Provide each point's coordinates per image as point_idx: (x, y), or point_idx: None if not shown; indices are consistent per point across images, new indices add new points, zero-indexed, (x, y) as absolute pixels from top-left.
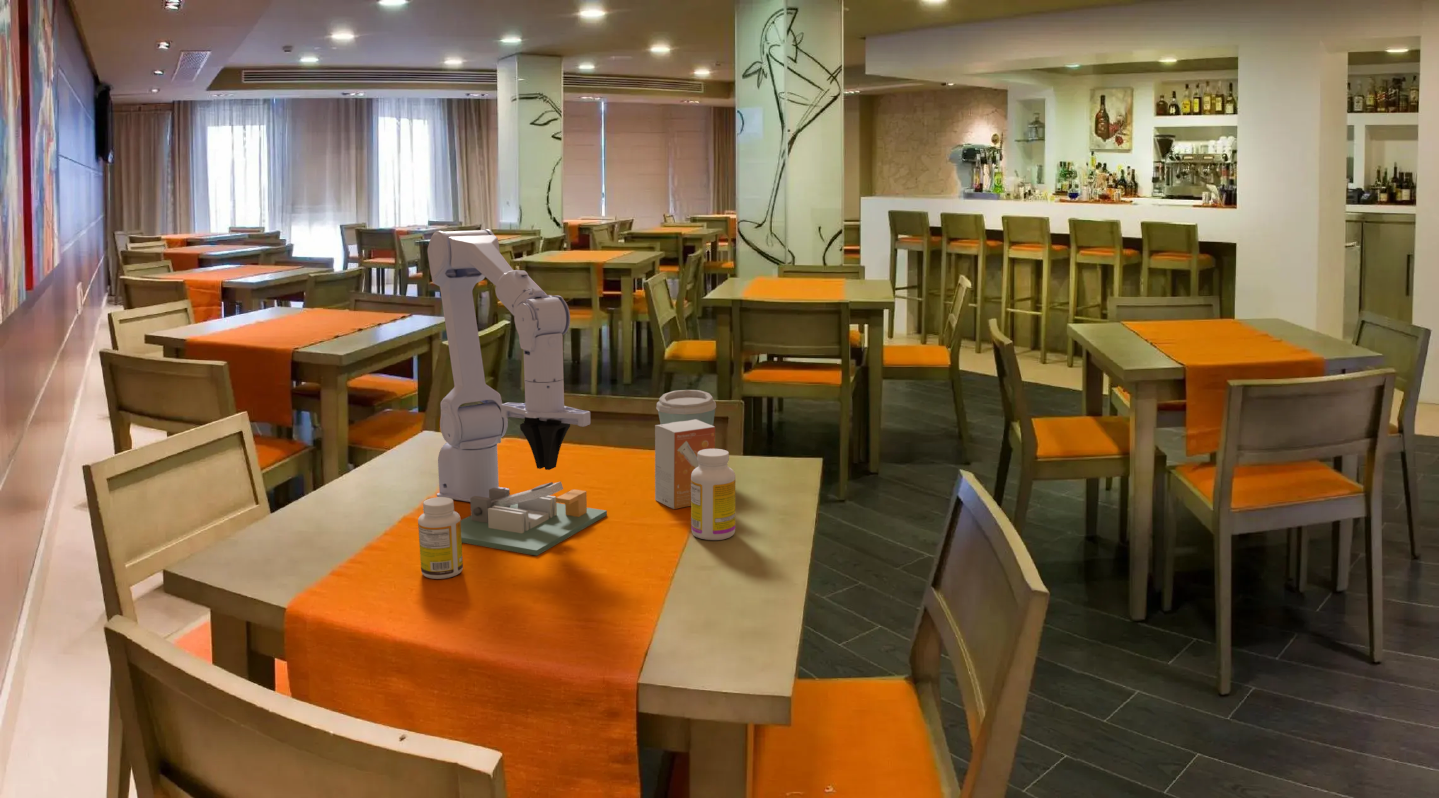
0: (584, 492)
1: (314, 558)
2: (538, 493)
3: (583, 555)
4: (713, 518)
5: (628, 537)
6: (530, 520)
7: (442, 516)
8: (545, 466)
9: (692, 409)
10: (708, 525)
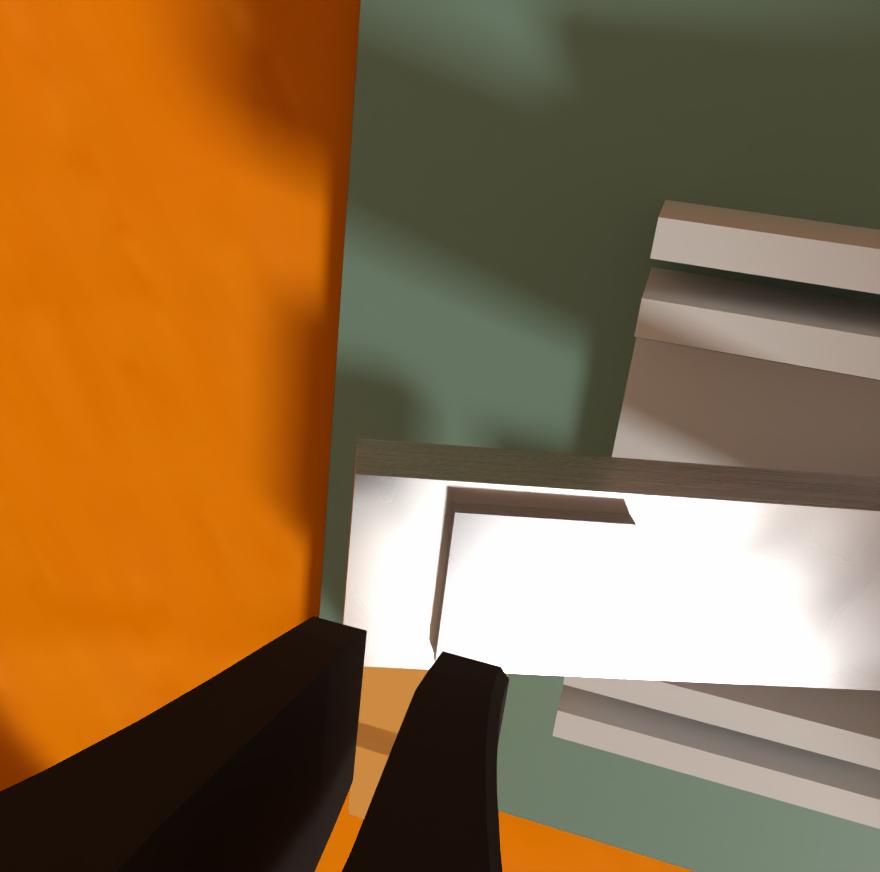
0: (351, 791)
1: None
2: (534, 472)
3: (106, 2)
4: None
5: (47, 407)
6: (657, 386)
7: None
8: (331, 641)
9: None
10: None
